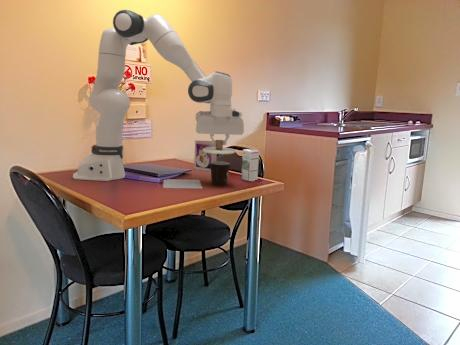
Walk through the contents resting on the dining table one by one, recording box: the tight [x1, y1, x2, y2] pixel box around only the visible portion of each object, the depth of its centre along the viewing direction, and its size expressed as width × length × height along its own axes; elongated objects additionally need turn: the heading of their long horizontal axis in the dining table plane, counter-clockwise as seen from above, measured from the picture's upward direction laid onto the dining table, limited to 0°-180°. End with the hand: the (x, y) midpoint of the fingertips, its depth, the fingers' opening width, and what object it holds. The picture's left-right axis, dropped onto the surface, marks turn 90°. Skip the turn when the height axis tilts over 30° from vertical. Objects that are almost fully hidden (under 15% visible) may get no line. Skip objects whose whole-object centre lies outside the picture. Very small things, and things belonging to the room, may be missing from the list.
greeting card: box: [193, 139, 218, 173], centre depth 205 cm, size 11×7×15 cm, turn 61°
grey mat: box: [162, 178, 203, 190], centre depth 171 cm, size 16×16×1 cm
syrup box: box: [240, 148, 260, 182], centre depth 186 cm, size 6×6×14 cm
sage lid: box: [203, 139, 236, 155], centre depth 169 cm, size 14×14×5 cm
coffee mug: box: [210, 160, 231, 187], centre depth 171 cm, size 12×9×10 cm
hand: (219, 144), depth 169 cm, fingers closed on sage lid, 3 cm apart
